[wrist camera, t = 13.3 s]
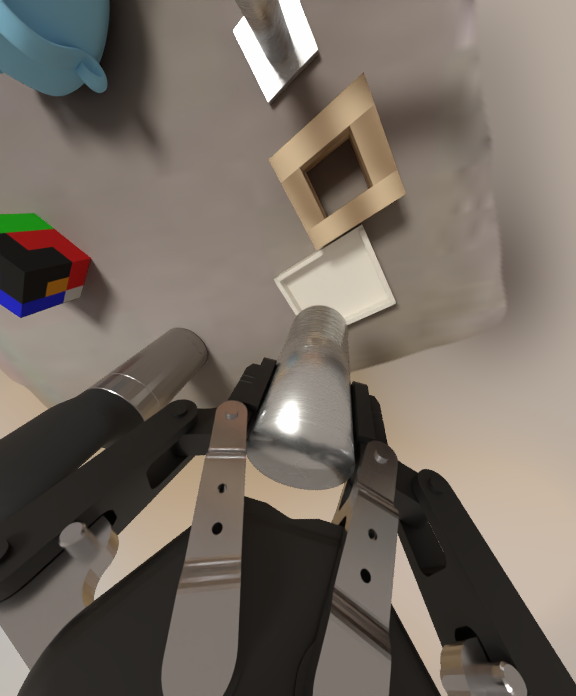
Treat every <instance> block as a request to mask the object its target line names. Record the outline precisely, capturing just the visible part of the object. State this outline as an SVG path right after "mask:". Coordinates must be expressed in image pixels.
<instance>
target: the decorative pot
mask: <svg viewBox="0 0 576 696" xmlns="http://www.w3.org/2000/svg"><path fill="white" fill-rule="evenodd" d="M109 15H110V1H109V0H0V74H1V73H6V74H7V75H9V76H11V77H12V78H14V79H16V80H17V81H19V82H21V83H23V84H25V85H27V86H29V87H31V88H33V89H35V90H37V91H39V92H42V93H44V94H47V95H51V96H65V95H67V94H70V93H72V92H74V91H75V90H77V89H78V88H80V87H81V86H82V85H83V84H84V83H85V84H86V85H87V86H88V87H89V88H90V89H92V90H93V91H95V92H97V93H102V92H104V91H105V90H106V89H107V78H106V75H105V73H104V71H103V69H102V67H101V66H100V64H99V63H100V60H101V58H102V55H103V51H104V48H105V44H106V39H107V33H108V26H109Z"/></svg>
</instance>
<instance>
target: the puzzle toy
mask: <svg viewBox="0 0 576 696" xmlns="http://www.w3.org/2000/svg"><path fill="white" fill-rule="evenodd" d="M90 260H91V258H90V257H89V256H88V255H86V254H85V253H84V252H83V251H81V250H80V249H79V248H78V247H76V246H75V245H74V244H73V243H71V242H70V241H69V240H67V239H66V238H65V237H64V236H62V235H61V234H60V233H59V232H57V231H56V230H55V229H54V228H52V227H51V226H50V225H49V224H47V223H46V222H45V221H44V220H42V219H41V218H40V217H39V216H37V215H36V214H35V213H28V214H0V304H1V305H2V306H4V307H5V308H7V309H8V310H10V311H11V312H13V313H14V314H16V315H17V316H18V317H20V318H22V317H25V316H28V315H31V314H34V313H36V312H39V311H42V310H45V309H48V308H51V307H53V306H56V305H59V304H62V303H65V302H68V301H71V300H73V299H76V298H79V297H80V296H81V292H82V289H83V285H84V282H85V278H86V274H87V271H88V267H89V264H90Z"/></svg>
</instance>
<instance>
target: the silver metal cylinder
mask: <svg viewBox="0 0 576 696" xmlns="http://www.w3.org/2000/svg"><path fill="white" fill-rule="evenodd" d="M246 454H247V457H248V459H249V460H250V462H251V463H252V464H253V466H254V467H255V468H257V470H259V471H260V472H261V473H262V474H264V475H265V476H267V477H269V478H270V479H272V480H274V481H276V482H279V483H281V484H284V485H287V486H290V487H294V488H299V489H307V490H323V489H329V488H333V487H337V486H339V485H341V484H343V483H345V482H346V481H347V480H348V479H349V478H350V477H351V476H352V474H353V472H354V469H355V456H354V437H353V419H352V400H351V382H350V363H349V345H348V328H347V323H346V321H345V319H344V317H343V316H342V315H341V314H340V313H339V312H338V311H336V310H335V309H333V308H331V307H328V306H323V305H315V306H311V307H308V308H306V309H304V310H302V311H301V312H300V313H299V314H298V315H297V316H296V318H295V319H294V321H293V324H292V326H291V329H290V332H289V334H288V337H287V339H286V342H285V344H284V347H283V349H282V352H281V354H280V357H279V359H278V362H277V364H276V367H275V370H274V372H273V375H272V377H271V380H270V382H269V385H268V387H267V390H266V392H265V395H264V397H263V400H262V403H261V405H260V408H259V410H258V413H257V415H256V417H255V420H254V422H253V425H252V427H251V430H250V432H249V435H248V437H247V440H246Z"/></svg>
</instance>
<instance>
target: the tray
mask: <svg viewBox="0 0 576 696" xmlns="http://www.w3.org/2000/svg"><path fill="white" fill-rule="evenodd" d="M274 281H275V283H276V284H277V286H278V287H279V289H280V291H281V292H282V294H283V295H284V297H285V298H286V300H287V302H288V303H289V305H290V306H291V308H292V310H293V311H294V313H295V314H296V316H297V315H298V314H299V313H300V312H301V311H302V310H304V309H306V308H308V307H311V306H315V305H323V306H328V307H331V308H333V309H335V310H336V311H338V312H339V313H340V314H341V315H342V316H343V317H344V319H345V321H346V323H347V325H349V324H351V323H353V322H355V321H358V320H360V319H362V318H365V317H367V316H369V315H371V314H374V313H376V312H378V311H380V310H383V309H385V308H387V307H390V306H392V305H394V304H396V302H395V299H394V297H393V295H392V292H391V290H390V288H389V285H388V283H387V281H386V278H385V276H384V274H383V272H382V269H381V267H380V265H379V262H378V260H377V258H376V255H375V253H374V251H373V248H372V246H371V244H370V242H369V239H368V237H367V235H366V232H365V230H364V228H363V225H362V224H361V223H360V224H359V225H357V226H356V227H354V228H352V229H351V230H349V231H348V232H346V233H344V234H343V235H341V236H340V237H338V238H336V239H335V240H333V241H332V242H330V243H329V244H327V245H325V246H324V247H322V248H321V249H319V250H317V251H316V252H314V253H313V254H311V255H309V256H308V257H306V258H305V259H303V260H302V261H300V262H298V263H297V264H295V265H294V266H292V267H290V268H289V269H287V270H286V271H284V272H282V273H281V274H279V275H278V276H277V277H276V278H275V279H274Z"/></svg>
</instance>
